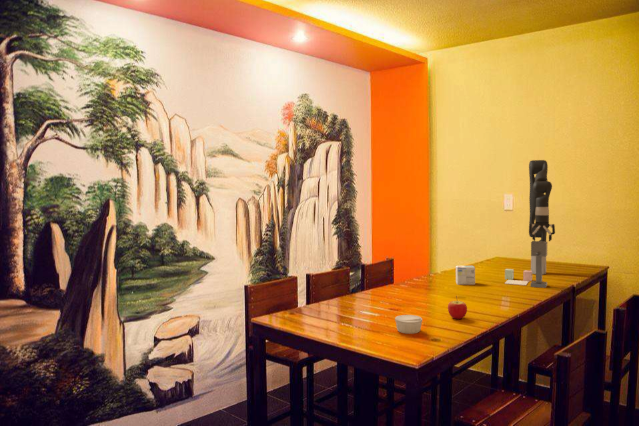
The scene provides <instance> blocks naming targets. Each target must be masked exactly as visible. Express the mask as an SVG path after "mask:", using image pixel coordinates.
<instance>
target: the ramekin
mask: <svg viewBox="0 0 639 426" xmlns="http://www.w3.org/2000/svg"><path fill="white" fill-rule="evenodd" d="M394 321H395V324H396V329H397V331H398V332H399V333H402V334H412V335H414V334H417V333H419V332H421V328H422V323H423V318H422V317H421V316H419V315H413V314H402V315H397V316H395V318H394Z"/></svg>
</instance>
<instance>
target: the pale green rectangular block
mask: <svg viewBox="0 0 639 426" xmlns="http://www.w3.org/2000/svg"><path fill="white" fill-rule="evenodd" d="M514 272H515V270H514V268H513V269H512V268H505V269H504V280H507V279H508V280H515V279H514V276H515V275H514V274H515V273H514Z"/></svg>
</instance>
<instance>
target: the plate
mask: <svg viewBox="0 0 639 426" xmlns="http://www.w3.org/2000/svg"><path fill="white" fill-rule="evenodd" d="M529 282H530V281H523V280H515V279H513V280H507V279H506V281H505V282H504V284H505V285H515V286H516V285H519V286H527V285H528V283H529Z"/></svg>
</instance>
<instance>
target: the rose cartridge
mask: <svg viewBox="0 0 639 426" xmlns="http://www.w3.org/2000/svg"><path fill="white" fill-rule="evenodd" d="M522 277H523V280H522V281H529V282H530V281H531V282H532V281H533V274H532V271H531V270H526V269H525V270H523V276H522Z"/></svg>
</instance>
